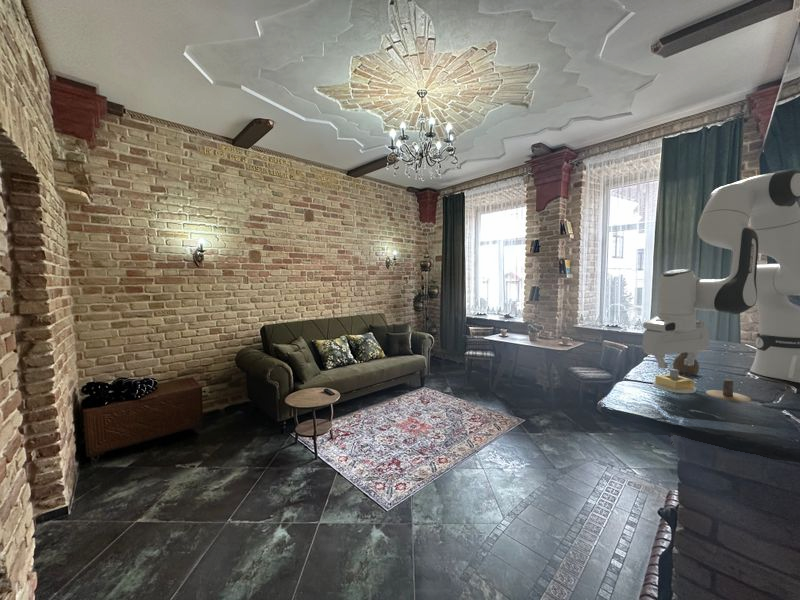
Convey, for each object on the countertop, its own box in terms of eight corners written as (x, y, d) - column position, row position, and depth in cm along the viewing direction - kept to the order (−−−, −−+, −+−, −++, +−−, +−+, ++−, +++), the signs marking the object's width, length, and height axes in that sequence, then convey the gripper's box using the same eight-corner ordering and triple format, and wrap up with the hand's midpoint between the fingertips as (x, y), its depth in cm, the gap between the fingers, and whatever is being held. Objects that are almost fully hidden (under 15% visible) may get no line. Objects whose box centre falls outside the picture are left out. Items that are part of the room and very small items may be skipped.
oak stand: (738, 396, 93) (739, 376, 92) (759, 408, 84) (760, 387, 84) (699, 393, 96) (700, 374, 96) (716, 404, 88) (716, 383, 87)
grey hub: (686, 388, 101) (686, 366, 100) (702, 399, 92) (703, 376, 91) (648, 385, 104) (648, 364, 104) (660, 395, 95) (660, 373, 95)
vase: (704, 379, 108) (704, 354, 107) (680, 379, 109) (681, 354, 109) (689, 373, 115) (690, 350, 114) (668, 373, 116) (668, 349, 115)
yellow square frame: (672, 381, 101) (672, 374, 101) (693, 388, 95) (694, 380, 95) (655, 383, 101) (655, 375, 100) (675, 390, 94) (675, 381, 94)
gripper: (694, 318, 101) (693, 360, 102) (638, 323, 98) (638, 366, 99) (716, 321, 95) (715, 366, 96) (657, 326, 92) (657, 372, 93)
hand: (676, 366), depth 98 cm, fingers open, 8 cm apart
